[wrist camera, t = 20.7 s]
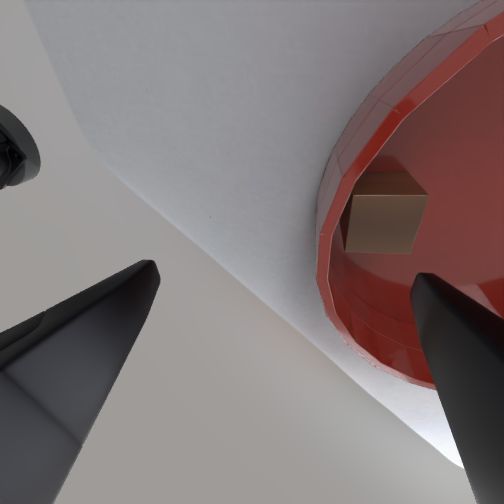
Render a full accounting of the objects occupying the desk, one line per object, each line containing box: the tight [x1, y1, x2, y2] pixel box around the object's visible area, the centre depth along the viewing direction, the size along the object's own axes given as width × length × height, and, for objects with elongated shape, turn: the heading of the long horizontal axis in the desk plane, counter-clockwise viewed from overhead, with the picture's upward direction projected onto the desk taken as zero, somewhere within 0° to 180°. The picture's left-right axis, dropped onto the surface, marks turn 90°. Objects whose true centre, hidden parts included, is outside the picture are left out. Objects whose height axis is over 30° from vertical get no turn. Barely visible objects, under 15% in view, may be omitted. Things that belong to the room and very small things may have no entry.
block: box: [340, 172, 429, 254], centre depth 18 cm, size 4×4×4 cm
